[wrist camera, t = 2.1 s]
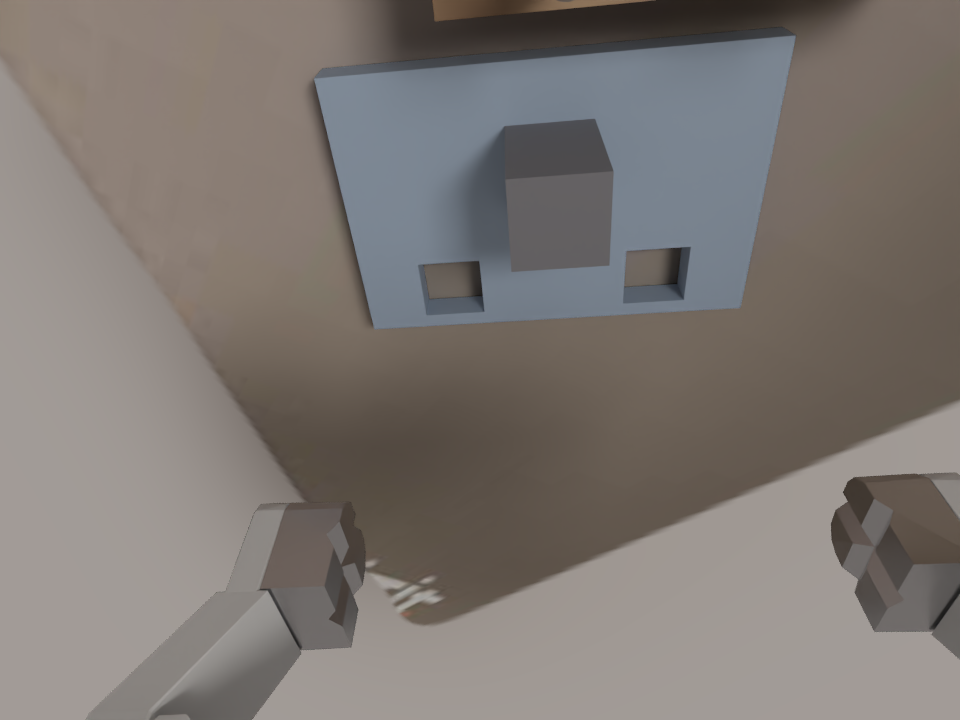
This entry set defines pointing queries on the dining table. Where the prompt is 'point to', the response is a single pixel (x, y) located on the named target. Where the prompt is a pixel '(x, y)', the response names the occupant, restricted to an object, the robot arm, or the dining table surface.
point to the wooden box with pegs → (508, 7)
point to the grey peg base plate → (558, 173)
